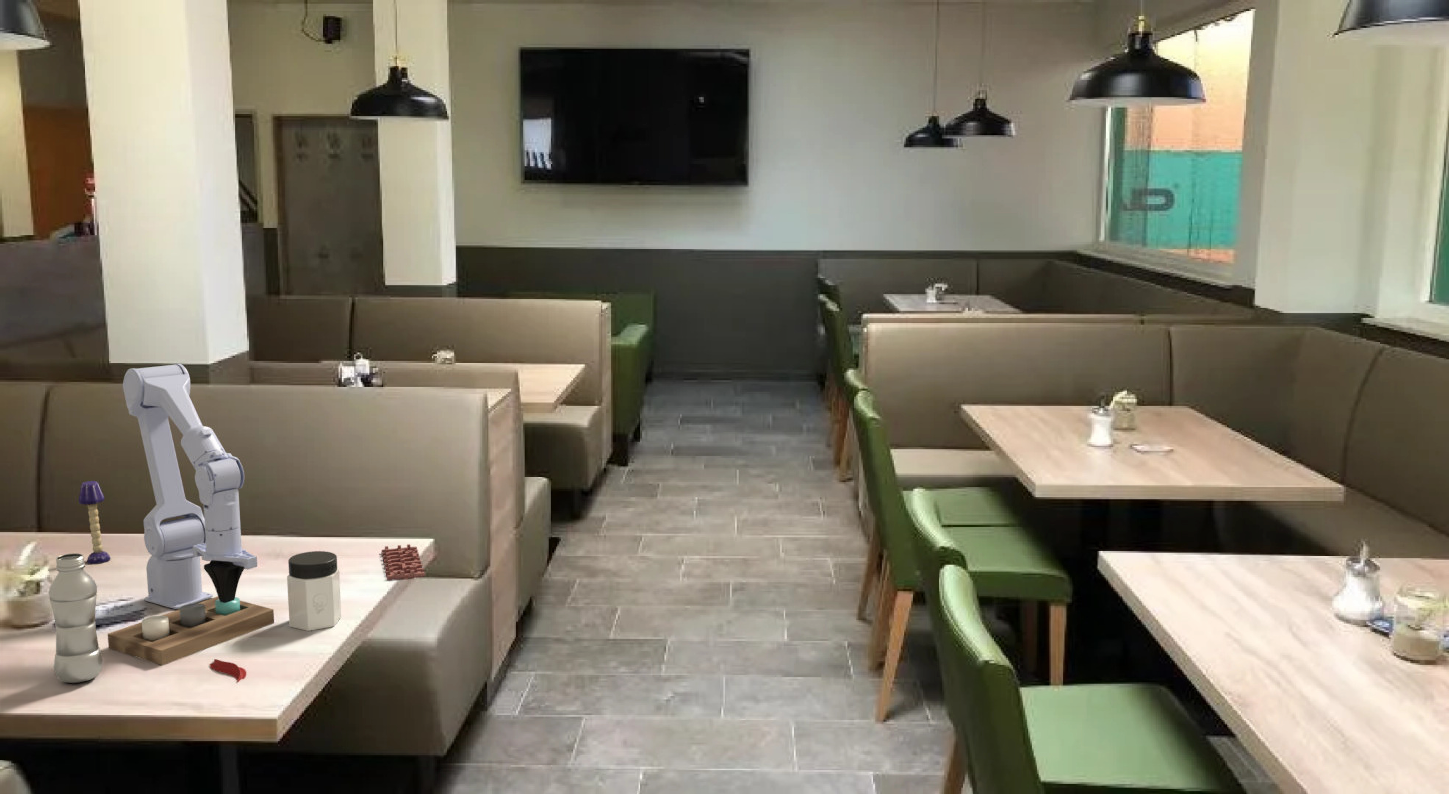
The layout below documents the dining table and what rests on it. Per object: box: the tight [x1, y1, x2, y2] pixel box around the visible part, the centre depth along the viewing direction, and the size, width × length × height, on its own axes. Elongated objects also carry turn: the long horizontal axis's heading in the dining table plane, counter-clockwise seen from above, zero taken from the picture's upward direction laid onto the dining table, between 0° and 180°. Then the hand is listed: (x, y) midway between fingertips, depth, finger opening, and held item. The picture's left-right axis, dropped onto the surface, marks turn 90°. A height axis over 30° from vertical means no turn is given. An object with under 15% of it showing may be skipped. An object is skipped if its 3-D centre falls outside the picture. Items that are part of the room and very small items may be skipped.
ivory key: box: [141, 615, 169, 641], centre depth 193 cm, size 4×4×3 cm
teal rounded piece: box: [215, 596, 241, 616], centre depth 205 cm, size 4×4×3 cm
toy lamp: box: [78, 480, 111, 565], centre depth 236 cm, size 5×5×17 cm
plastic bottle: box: [48, 552, 104, 684], centre depth 179 cm, size 6×7×20 cm
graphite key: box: [178, 602, 206, 627], centre depth 199 cm, size 4×4×3 cm
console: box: [107, 596, 275, 666], centre depth 199 cm, size 14×22×2 cm, turn 151°
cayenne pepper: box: [209, 658, 247, 684], centre depth 185 cm, size 12×5×2 cm, turn 32°
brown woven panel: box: [381, 543, 426, 581], centre depth 238 cm, size 7×19×2 cm, turn 20°
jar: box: [286, 550, 342, 632], centre depth 205 cm, size 9×8×12 cm
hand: (227, 600), depth 205 cm, fingers closed, pressing on teal rounded piece
